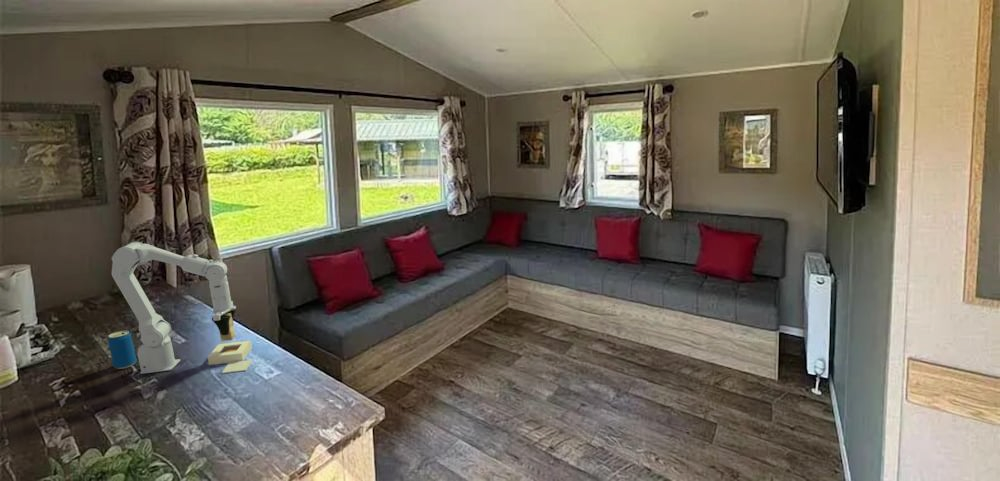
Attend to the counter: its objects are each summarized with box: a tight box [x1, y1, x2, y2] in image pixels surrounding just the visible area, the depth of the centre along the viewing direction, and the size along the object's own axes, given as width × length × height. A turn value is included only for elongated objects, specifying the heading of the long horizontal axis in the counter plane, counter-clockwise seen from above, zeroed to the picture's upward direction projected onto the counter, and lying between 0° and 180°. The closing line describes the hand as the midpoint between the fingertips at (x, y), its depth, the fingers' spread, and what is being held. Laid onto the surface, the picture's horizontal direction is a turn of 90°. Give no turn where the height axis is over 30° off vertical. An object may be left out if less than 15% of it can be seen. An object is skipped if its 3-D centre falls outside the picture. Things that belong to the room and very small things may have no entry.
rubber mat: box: [221, 359, 253, 375], centre depth 166 cm, size 8×8×1 cm
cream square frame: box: [207, 340, 253, 366], centre depth 174 cm, size 11×11×3 cm
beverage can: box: [107, 330, 138, 370], centre depth 169 cm, size 6×6×12 cm
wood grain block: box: [219, 313, 236, 342], centre depth 172 cm, size 4×4×9 cm
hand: (227, 332), depth 172 cm, fingers closed on wood grain block, 3 cm apart
